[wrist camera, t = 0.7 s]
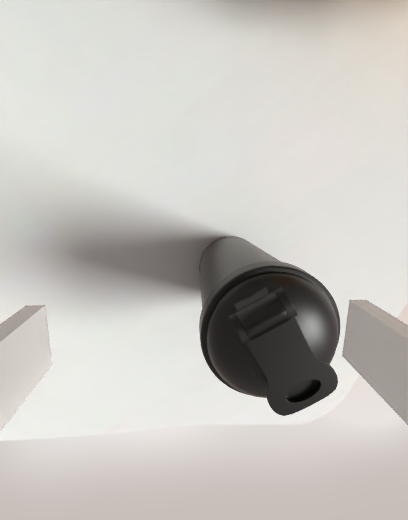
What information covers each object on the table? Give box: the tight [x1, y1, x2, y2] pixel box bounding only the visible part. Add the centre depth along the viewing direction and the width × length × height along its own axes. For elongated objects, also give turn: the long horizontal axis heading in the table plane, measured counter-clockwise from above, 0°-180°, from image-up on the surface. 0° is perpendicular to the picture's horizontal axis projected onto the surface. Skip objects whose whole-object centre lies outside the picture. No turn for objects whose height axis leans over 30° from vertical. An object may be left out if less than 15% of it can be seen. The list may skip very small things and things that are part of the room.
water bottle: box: [199, 237, 340, 416], centre depth 29 cm, size 10×10×23 cm
